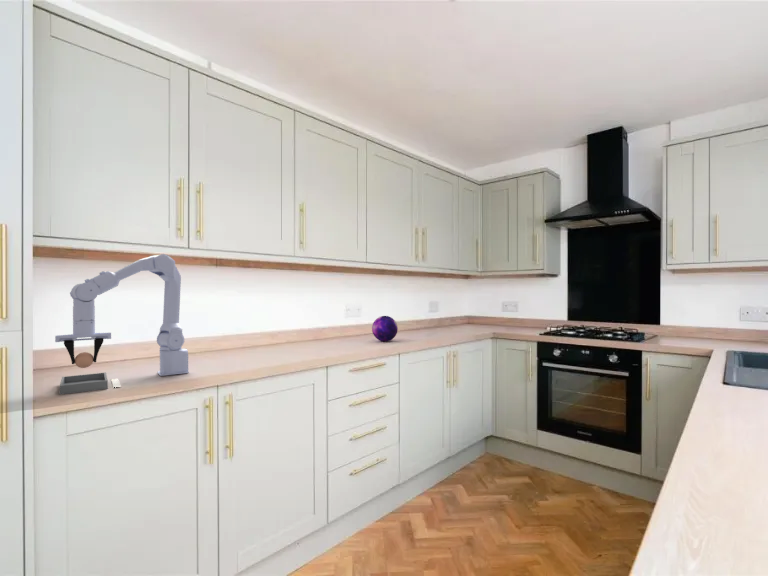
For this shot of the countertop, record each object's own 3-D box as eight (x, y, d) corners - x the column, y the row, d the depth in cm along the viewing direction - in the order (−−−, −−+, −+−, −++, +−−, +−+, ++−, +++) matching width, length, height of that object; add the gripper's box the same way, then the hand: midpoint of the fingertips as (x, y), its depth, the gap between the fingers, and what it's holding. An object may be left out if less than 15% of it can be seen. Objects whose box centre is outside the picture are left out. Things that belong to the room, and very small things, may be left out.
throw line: (118, 378, 146) (118, 378, 146) (120, 387, 133) (120, 387, 133) (111, 379, 145) (111, 379, 145) (113, 388, 132) (113, 388, 132)
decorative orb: (371, 340, 251) (371, 315, 251) (396, 339, 252) (396, 314, 252) (372, 343, 237) (372, 316, 237) (398, 342, 237) (398, 316, 237)
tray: (106, 379, 144) (105, 372, 144) (107, 388, 131) (107, 380, 131) (62, 384, 137) (62, 376, 137) (59, 394, 124) (59, 385, 124)
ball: (94, 365, 137) (93, 350, 137) (93, 368, 133) (93, 352, 133) (75, 367, 135) (75, 352, 135) (73, 369, 130) (73, 354, 130)
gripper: (110, 318, 142) (110, 358, 141) (56, 320, 133) (56, 363, 133) (111, 320, 136) (111, 361, 136) (54, 322, 127) (54, 366, 127)
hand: (84, 362), depth 134 cm, fingers closed on ball, 5 cm apart
